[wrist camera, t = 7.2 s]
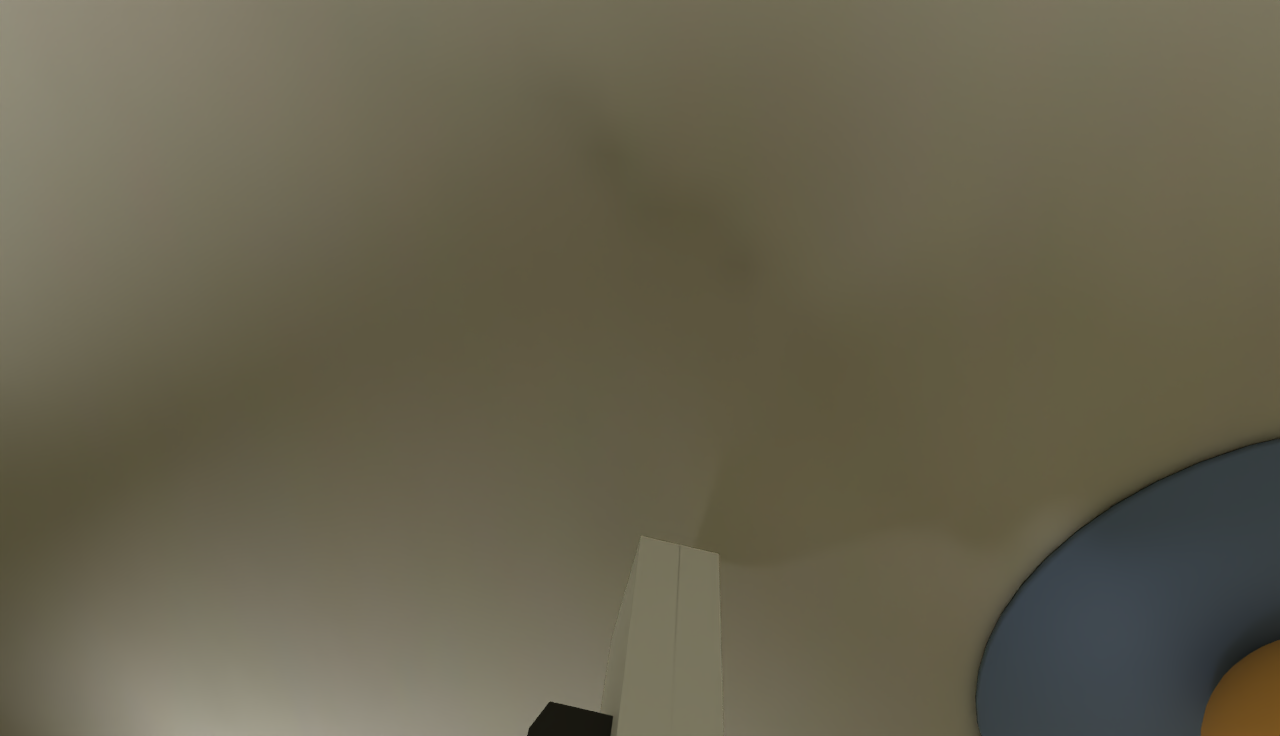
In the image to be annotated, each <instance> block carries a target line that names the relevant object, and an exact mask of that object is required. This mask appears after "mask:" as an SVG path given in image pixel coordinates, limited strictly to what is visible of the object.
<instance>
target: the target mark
mask: <svg viewBox="0 0 1280 736" xmlns="http://www.w3.org/2000/svg"><path fill="white" fill-rule="evenodd" d="M1277 640H1280V438H1279V439H1275V440H1271V441H1267V442H1263V443H1258V444H1254V445H1250V446H1247V447H1244V448H1241V449H1238V450H1235V451H1232V452H1229V453H1226V454H1223V455H1221V456H1218V457H1215V458H1212V459H1209V460H1206V461H1203V462H1200V463H1198V464H1196V465H1193V466H1191V467H1189V468H1187V469H1184V470H1182V471H1180V472H1178V473H1175V474H1173V475H1171V476H1169V477H1166V478H1164V479H1162V480H1160V481H1157V482H1155V483H1153V484H1152V485H1150V486H1148V487H1146V488H1144V489H1143V490H1141V491H1139V492H1137V493H1136V494H1134V495H1132V496H1130V497H1128V498H1127V499H1125V500H1123V501H1121V502H1120V503H1118V504H1116V505H1114V506H1113V507H1111V508H1110V509H1108V510H1107V511H1106V512H1104V513H1103V514H1101V515H1100V516H1098V517H1097V518H1096V519H1094V520H1093V521H1091V522H1090V523H1088V524H1087V525H1086V526H1084V527H1083V528H1081V529H1080V530H1078V531H1077V532H1076V533H1075V534H1074V535H1073V536H1071V537H1070V538H1069V539H1068V540H1067V541H1066V542H1065V543H1063V544H1062V545H1061V546H1060V547H1059V548H1058V549H1056V550H1055V551H1054V552H1053V553H1052V554H1051V555H1050V556H1048V557H1047V558H1046V559H1045V560H1044V562H1043V563H1042V564H1041V565H1040V566H1039V567H1038V568H1037V569H1036V570H1035V571H1034V573H1033V574H1032V575H1031V576H1030V577H1029V578H1028V579H1027V580H1026V581H1025V582H1024V584H1023V585H1022V586H1021V587H1020V589H1019V590H1018V591H1017V593H1016V594H1015V596H1014V597H1013V599H1012V600H1011V601H1010V603H1009V604H1008V606H1007V607H1006V609H1005V610H1004V612H1003V613H1002V614H1001V616H1000V618H999V620H998V622H997V624H996V626H995V628H994V630H993V632H992V634H991V636H990V638H989V640H988V642H987V645H986V649H985V652H984V655H983V658H982V662H981V665H980V668H979V673H978V681H977V689H976V710H977V723H978V726H979V730H980V734H981V736H1201V726H1202V722H1203V717H1204V713H1205V709H1206V705H1207V703H1208V701H1209V699H1210V696H1211V694H1212V692H1213V691H1214V689H1215V688H1216V686H1217V685H1218V683H1219V682H1220V680H1221V679H1222V677H1223V676H1224V675H1225V674H1226V673H1227V672H1228V671H1229V670H1230V669H1231V668H1232V667H1233V666H1234V665H1235V664H1236V663H1238V662H1239V661H1240V660H1242V659H1243V658H1244V657H1246V656H1247V655H1248V654H1250V653H1251V652H1253V651H1255V650H1257V649H1259V648H1260V647H1262V646H1265V645H1267V644H1269V643H1272V642H1274V641H1277Z"/></svg>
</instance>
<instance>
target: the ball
mask: <svg viewBox="0 0 1280 736" xmlns="http://www.w3.org/2000/svg"><path fill="white" fill-rule="evenodd" d="M1201 736H1280V640H1277V641H1274V642H1272V643H1269V644H1267V645H1265V646H1262V647H1260V648H1259V649H1257V650H1255V651H1253V652H1251V653H1250V654H1248V655H1247V656H1246V657H1244V658H1243V659H1242V660H1240V661H1239V662H1238V663H1236V664H1235V665H1234V666H1233V667H1232V668H1231V669H1230V670H1229V671H1228V672H1227V673H1226V674H1225V675H1224V676H1223V677H1222V679H1221V680H1220V682H1219V683H1218V685H1217V686H1216V688H1215V689H1214V691H1213V692H1212V694H1211V696H1210V699H1209V701H1208V703H1207V705H1206V709H1205V713H1204V717H1203V722H1202V726H1201Z"/></svg>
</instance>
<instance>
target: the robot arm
mask: <svg viewBox="0 0 1280 736" xmlns="http://www.w3.org/2000/svg"><path fill="white" fill-rule="evenodd" d="M527 736H724V724H723V687H722V649H721V612H720V574H719V554H718V553H714V552H709V551H705V550H701V549H697V548H692V547H688V546H684V545H679V544H675V543H671V542H667V541H662V540H658V539H654V538H649V537H645V536H641V537H640V541H639V544H638V548H637V551H636V555H635V558H634V562H633V565H632V569H631V572H630V576H629V579H628V583H627V586H626V590H625V593H624V597H623V600H622V604H621V607H620V611H619V614H618V618H617V621H616V625H615V628H614V632H613V635H612V638H611V644H610V651H609V657H608V664H607V671H606V677H605V684H604V691H603V698H602V704H601V711H600V713H598V712H594V711H589V710H585V709H580V708H576V707H572V706H567V705H563V704H558V703H554V702H549V703H548V705H547V706H546V707H545V708H544V710H543V711H542V712H541V714H540V715H539V716H538V717H537V719H536V720H535V721H534V723H533V724H532V725H531V726H530V728H529V731H528V735H527Z"/></svg>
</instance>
